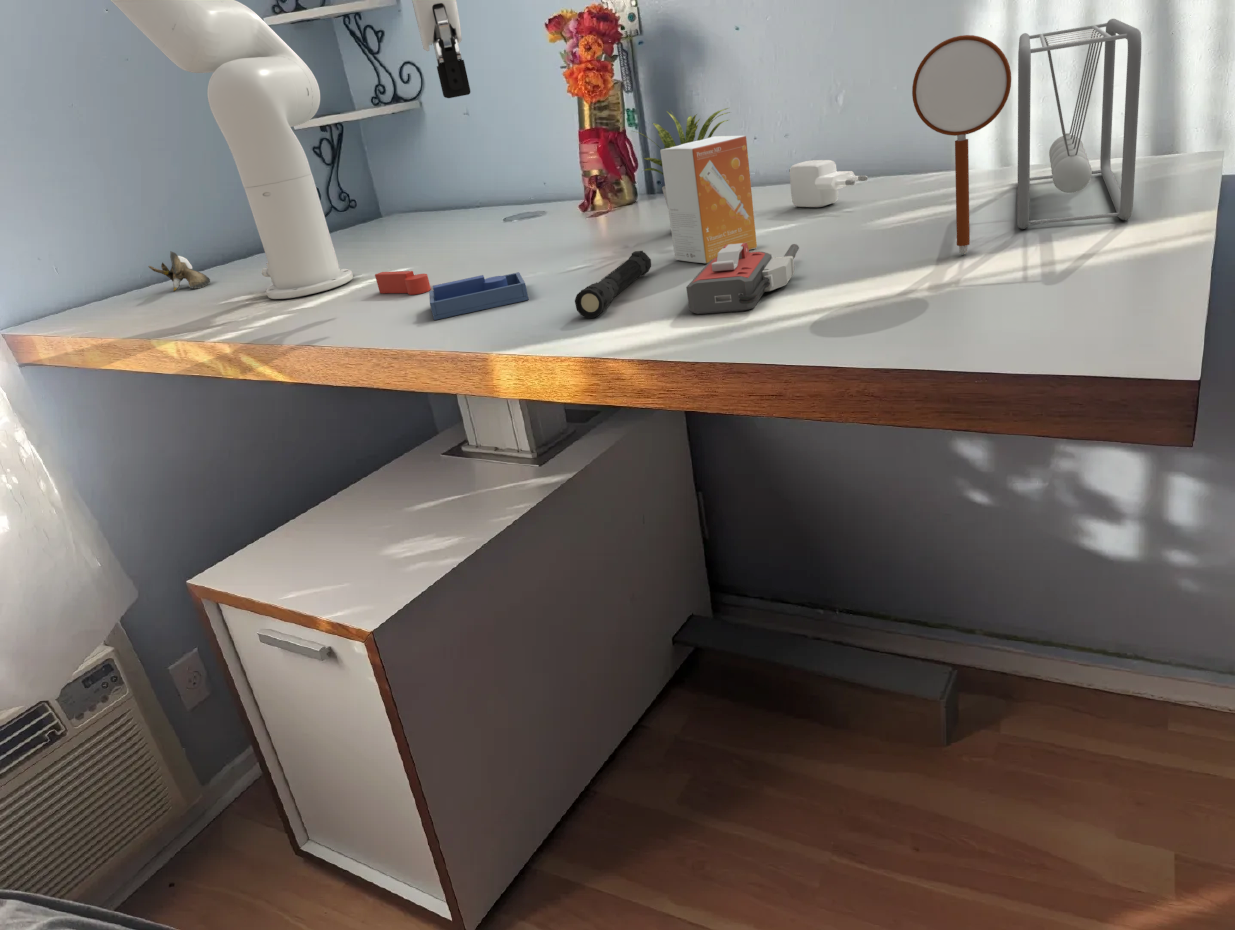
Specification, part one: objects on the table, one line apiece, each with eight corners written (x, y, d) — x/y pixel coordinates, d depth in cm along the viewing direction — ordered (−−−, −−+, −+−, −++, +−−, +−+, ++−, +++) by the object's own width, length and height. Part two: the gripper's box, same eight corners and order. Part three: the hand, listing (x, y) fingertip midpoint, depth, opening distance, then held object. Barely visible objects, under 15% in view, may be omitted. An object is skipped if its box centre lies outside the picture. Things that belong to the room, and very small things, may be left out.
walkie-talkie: (775, 312, 84) (806, 258, 101) (770, 264, 82) (802, 218, 99) (683, 319, 87) (727, 266, 104) (676, 273, 86) (723, 227, 102)
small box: (706, 265, 107) (691, 148, 101) (674, 260, 112) (658, 149, 107) (759, 247, 110) (747, 133, 105) (725, 244, 115) (712, 135, 110)
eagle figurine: (145, 289, 157) (167, 279, 151) (150, 249, 158) (173, 237, 152) (189, 301, 163) (213, 292, 157) (194, 262, 164) (218, 252, 158)
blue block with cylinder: (438, 311, 106) (433, 289, 105) (437, 305, 109) (432, 284, 108) (510, 295, 107) (505, 273, 106) (508, 290, 110) (503, 269, 109)
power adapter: (874, 202, 124) (871, 156, 122) (850, 210, 122) (847, 164, 119) (811, 200, 133) (808, 158, 130) (788, 208, 130) (784, 165, 128)
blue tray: (434, 320, 105) (429, 303, 104) (433, 307, 111) (429, 291, 110) (528, 299, 106) (525, 282, 105) (522, 288, 112) (519, 271, 111)
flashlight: (577, 319, 94) (572, 290, 93) (630, 276, 108) (626, 251, 107) (604, 317, 93) (599, 288, 92) (654, 274, 107) (650, 248, 106)
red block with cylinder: (375, 295, 124) (370, 276, 123) (391, 288, 126) (386, 270, 125) (419, 294, 119) (414, 275, 118) (435, 288, 121) (430, 268, 120)
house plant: (771, 213, 129) (758, 89, 123) (727, 237, 119) (711, 103, 113) (682, 219, 137) (666, 102, 131) (634, 242, 127) (614, 117, 120)
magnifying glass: (916, 259, 93) (909, 44, 85) (919, 255, 94) (912, 43, 86) (1009, 253, 89) (1010, 27, 81) (1011, 249, 90) (1012, 26, 82)
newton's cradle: (1132, 224, 91) (1143, 28, 84) (1017, 234, 95) (1018, 48, 88) (1109, 171, 116) (1116, 16, 109) (1018, 181, 120) (1019, 33, 113)
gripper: (395, -39, 120) (427, 100, 127) (391, -58, 105) (429, 102, 111) (451, -48, 121) (481, 90, 128) (456, -69, 105) (490, 90, 112)
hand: (457, 96), depth 120 cm, fingers open, 9 cm apart
